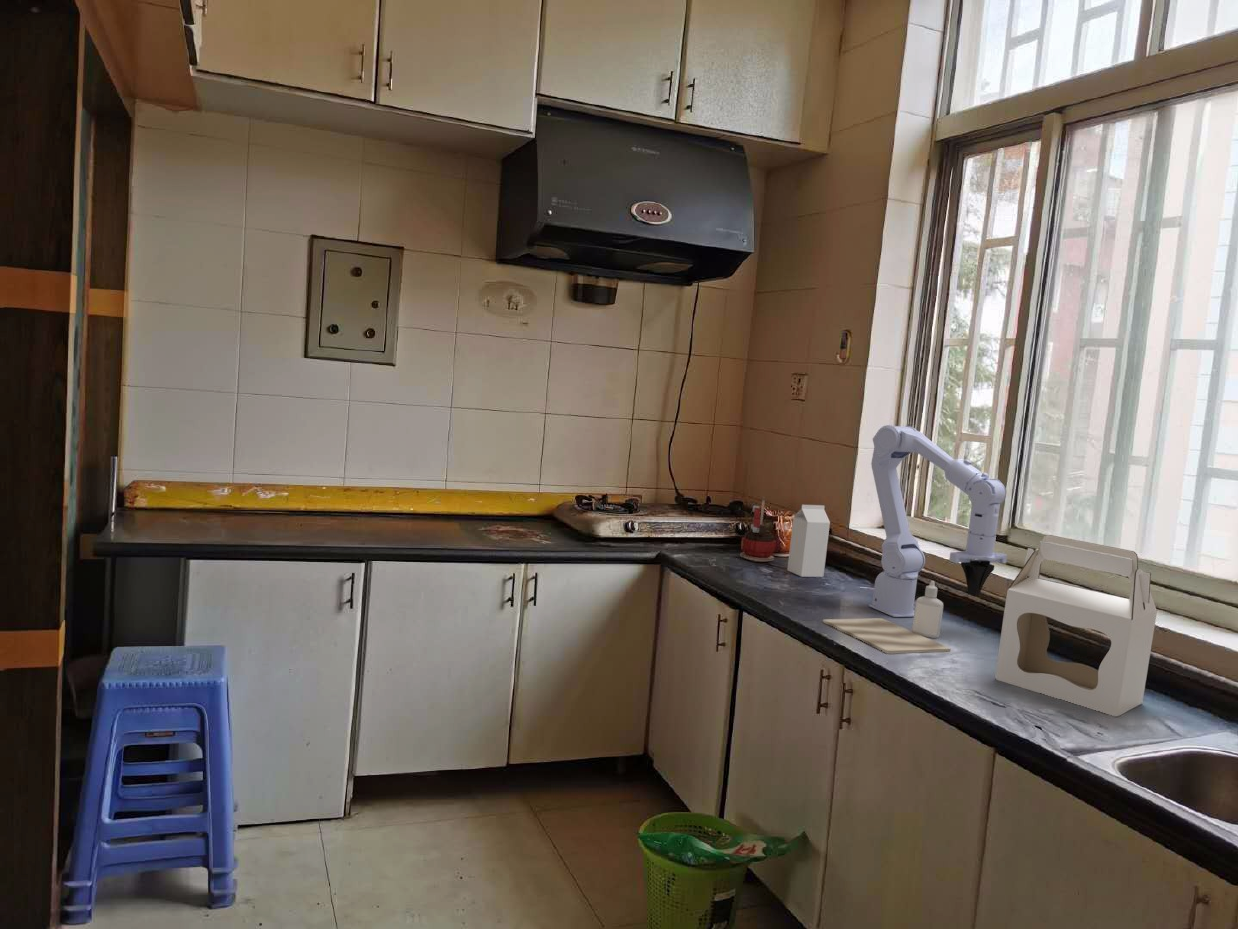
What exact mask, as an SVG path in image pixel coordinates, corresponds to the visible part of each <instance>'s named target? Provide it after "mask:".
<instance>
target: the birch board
mask: <svg viewBox="0 0 1238 929" xmlns="http://www.w3.org/2000/svg"><path fill="white" fill-rule="evenodd" d="M822 623H824V624H826V625H828V626H830V627H832V626H833V627H832V628H834V627H835V628H834V629H836V628H837V629H836V630H838V631H839V632H842V633H844V632H846V633H847V635H848V634H849V636H850V635H851V636H850V637H852V636H853V637H852V638H854V639H856V638H858V639H860V640H862V641H863V642H862V641H861V642H862V643H864V642H865V643H864V644H866V643H867V645H868V644H870V645H872V646H874V647H875V648H874V647H873V648H874V649H876V648H877V650H879V651H881V650H882V651H881V652H882V653H885V654H887V655H889V654H891V655H894V654H895V655H896V654H915V653H921V652H922V653H942V652H943V653H944V652H951V650H952V649H951V648H950V647H948V646H946V645H943V644H942V643H939V642H936V641H935V640H932V639H931V638H929V637H924V636H921V635H919V634H917V633H914V632H912V630H910V629H908V628H906V627H904V626H903V627H902V626H901V625H898V624H897V623H893V622H891V621H889V620H887V619H885V618H882V617H879V618H878V617H876V618H875V617H874V618H872V617H871V618H833V619H831V618H828V619H822ZM846 633H845V634H846ZM858 639H857V640H858ZM860 640H859V641H860ZM870 645H869V646H870ZM872 646H871V647H872Z"/></svg>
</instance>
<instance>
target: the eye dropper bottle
mask: <svg viewBox="0 0 1238 929" xmlns="http://www.w3.org/2000/svg"><path fill="white" fill-rule="evenodd" d="M935 585H936V584H935V581H934V580H930V583H929V585H926V586H925V590H924V595H923V596H920V597H918V598H917V599H916V600H915V604H914V611H913V612H914V617H913V620H912V626H911V627H912V628H911V631H912V632H914V633H917V634H919V635H921V636H923V637H926V638H928V639H931V638H932V639H937V638H939V637H940V633H941V627H942V618H943V611H944V602H943V601H942V600H940V599H938V598H937V595H938V587H937V586H935Z"/></svg>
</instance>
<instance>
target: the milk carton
mask: <svg viewBox="0 0 1238 929" xmlns="http://www.w3.org/2000/svg"><path fill="white" fill-rule="evenodd" d="M825 507H826V506H825V505H822V504H801V508H800V509H799V510H798V511H797V513H796V514H795V515H794V516H793V520H792V527H791V535H790V543H789V550H788V551H789V553H788V562H787V567H786V568H787V571H788V572H790V573H792V574H795V575H797V576H799V577H802V578H803V577H807V578H808V577H809V578H810V577H813V578H814V577H815V578H820V577H821V578H822V577H824V574H825V568H826V567H825V566H826V559H827V551H828V542H829V534H830V532H829V531H830V525H831V521H830V519H829V517H828V515H827V513H826V510H825Z"/></svg>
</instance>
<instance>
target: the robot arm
mask: <svg viewBox="0 0 1238 929" xmlns="http://www.w3.org/2000/svg"><path fill="white" fill-rule="evenodd" d="M872 443H873V452H872V458H871V462H870V463H871V464H870V465H871V470H872V474H873V480H874V485H875V489H876V493H877V498H878V503H879V508H880V511H881V512H880V513H881V517H882V522H883V526H884V531H885V539H884V541H883V542H882V544H881V551H882V553H881V554H882V555H881V561H880V562H881V567H882V569H883V571H882V572H880V573H879V574H878V575H877V576H876V578H875V580H874V587H873V595H872V601H871V604H868V606H869V607H870V608H872V609H875V610H877V611H879V612H882V613H884V614H887V615H888V616H890V617H892V618H893V617H894V618H908V617H909V618H910V617H911V618H914V612H915V611H914V608H915V596H916V592H917V582H918V578H919V577H918V576H919V572H921V571H922V570H923V569H924V567H925V565H926V557H925V554H924V552H923V551H922V550H921V548H920V546H919V541H918V540H917V538H916V537H915V536H914V535H913V534H912V533H911V530H910V526H909V521H908V516H907V513H906V507H905V503H904V498H903V494H902V493H903V492H902V489H901V483H900V478H899V475H898V470H897V469H898V466H899V465H900V464H901V463H902V461H903V460H904V459H905V458H906V457H908V456H909V455H910V454H912V453H915V454H918V455H919V456H921V457H922V458H924V459H926V460H927V461H928V462H930V463H931V464H933V465H935V466H936V467H937V468H939V469H941V470H943V471H944V477H945V479H946V481H948V482H950V483H951V484H953V486H955V487H956V488H957V489H958V490H960V491H962V492H963V493H965V494H966V495H967V496H968V498H969V501H970V502H971V506H970V510H971V511H970V516H969V517H970V518H969V524H968V532H967V536H966V537H967V538H966V545H965V550H963V551H961V550H960V551H957V552H954V551H953V552H952V551H951V552H950V553H949V562H952V563H954V564H959V563H960V565H961V568H962V570H963V572H964V576H965V581H966V588H967V594H968V595H971V596H976V597H978V596H980V594H981V591H982V589H983V587H984V584H985V583H986V581H987V579H988V577H989V576H990V575H991V574H992V573H993V571H994V570H995V565H994V564H992V563H997V564H998V563H1000V564H1007V562H1008V560H1007V559H1008V554H1005V553H1002V552H994V551H995V544H996V543H995V542H996V536H997V530H998V523H999V515H1000V507H1001V504H1003V502H1005V500H1006V497H1007V488H1006V486H1005V485H1004V483H1002V481H1001V480H1000V479H998V478H989V473H987V472H982V471H981V470H979V469H978V468H976V467H975V466H974V465H972V464H973V462H972V461H971V460H970V459H969V458H968V459H966V458H965V459H963V458H956V459H954V458H953V457H952V456H950V455H949V453H947V452H945V451H944V450H943V449H942V448H941V447H940V446H938V445H937V444H935V442H933V441H932V440H930V438H928V437H927V436H926V435H925V434H924V433H923V432H922V431H919V430H917V429H916V428H915V427H913V426H911V425H910V426H909V425H905V426H901V425H900V426H899V425H890V424H886V425H883V426H881V427H880V428H879V429H878V430H877V432H876V433H875V435H874V436H873V438H872Z"/></svg>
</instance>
